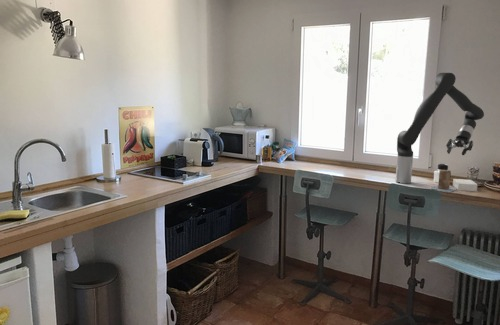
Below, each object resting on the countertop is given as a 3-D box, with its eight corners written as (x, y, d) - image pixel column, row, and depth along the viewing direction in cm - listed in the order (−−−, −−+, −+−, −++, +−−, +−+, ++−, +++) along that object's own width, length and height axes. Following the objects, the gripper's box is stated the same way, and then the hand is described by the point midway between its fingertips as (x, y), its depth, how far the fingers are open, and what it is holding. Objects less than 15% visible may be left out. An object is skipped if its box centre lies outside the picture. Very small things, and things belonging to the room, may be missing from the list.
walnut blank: (438, 188, 239) (439, 170, 237) (441, 187, 242) (443, 169, 240) (445, 189, 235) (447, 171, 234) (449, 188, 238) (450, 170, 236)
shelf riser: (458, 190, 237) (458, 183, 236) (452, 185, 250) (453, 178, 249) (476, 191, 234) (477, 184, 233) (470, 186, 247) (470, 179, 247)
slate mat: (428, 188, 239) (429, 188, 239) (438, 186, 247) (438, 185, 247) (449, 192, 230) (449, 191, 230) (458, 189, 238) (458, 188, 238)
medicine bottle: (441, 183, 253) (442, 165, 252) (433, 181, 260) (434, 163, 258) (450, 183, 255) (452, 164, 254) (442, 181, 262) (443, 163, 260)
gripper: (451, 129, 252) (442, 148, 247) (475, 130, 241) (466, 151, 236) (454, 137, 256) (445, 156, 251) (478, 138, 246) (469, 159, 240)
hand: (455, 153), depth 243 cm, fingers open, 8 cm apart
